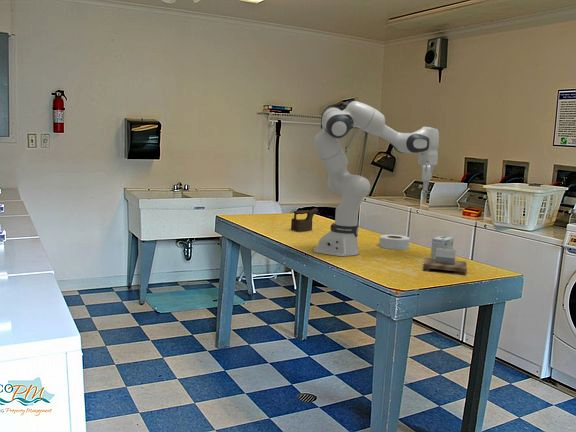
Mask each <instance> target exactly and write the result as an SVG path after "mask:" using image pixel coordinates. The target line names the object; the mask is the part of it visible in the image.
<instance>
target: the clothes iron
mask: <svg viewBox="0 0 576 432" xmlns="http://www.w3.org/2000/svg"><path fill="white" fill-rule="evenodd" d="M318 213H319V212H318V208H317V207H314V208H312V209H310V210H309V209H307V210H294V211H293V218H291V224H290V229H291V231H293V230H294V232H297V233H303V232H311V231H312V230H313V218H314V215H317V214H318ZM305 214H307V215H306V218H303V219H300V218H299V219H298V218H297V215H305Z"/></svg>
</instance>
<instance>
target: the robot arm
mask: <svg viewBox="0 0 576 432" xmlns="http://www.w3.org/2000/svg"><path fill="white" fill-rule="evenodd" d="M354 127H355V128H358V129H360V130H361V131H363V132H366V133H368V134H371V135H375V136H378V137H379V138H380V139H383V140H384V141H386V142H388V143H389V144H390V145H391V146H392V147H393V149H394V150H395V151H396V152H398V153H399V154H418V161H417V162H418V165H420V168H421V169H422V170H421V171H422V172H421V181H422V183H423V185H422V186H423V187H422V190H423V191H427V190H428V189H429V185H430V184H429V183H430V180H431V179H432V176H433V171H434V168H435V166H438V160H439V159H438V158H439V153H438V150H439V144H440V133H439V130H438V128H436V127H434V126H429V125H426V126H425V125H423V126H422V127H421V128H419V129H418V130H416V131H413V132H399V131H396V130H395V129H393V128H392V127H390V126H388V125H387V124H386V117H385V115H384V114H383V113H381V112H380V111H379V110H378V109H376V108H374V107H373V106H370V105H369V104H366V103H363V102H361V101H357V100H353V101H350V102H349V103H348V104H347V105H346V106H345V108H344V109H343V110H342V109H341V108H340V107H337V106H334V105H333V106H328V107H326V108H324V110H323V111H322V113H321V117H320V129H321V131H319V132H318V133H317V134H316V135H314V139H313V143H314V146H315V149H316V152H317V154H318V156H319V158H320V160H321V162H322V163H323V166H324V168H325V170H326V172H327V176H328V179H327V188H328V190H329V191H330V192H332V193H333V194H335V195H337V196H342V199H341V201H340V203H339V204H338V206H337V207H336V208H335V212H334V213H335V214H334V215H335V217H334V218H335V219H334V222H333V223H331V224H330V231H329V232H327V233H326V234H324V235H323V236H322V237H320V238H319V239H318V245H317V246H315V247H313V252H314V253H317V254H322V255H323V254H324V255H331V256H335V257H336V256H337V257H348V256H356V255H360V252H359V247H358V236H359V225H358V223H359V221H358V219H359V210H360V208H361V207H360V206H361V204H362V202H363V200H364V198H365V197H366V196H368V195H369V193H370V191H371V183H370V181H369V179H368V178H366V177H365V176H362V175H359V174H351V173H350V172H349V170H348V168H347V167H348V164H349V160H348V157H347V155H346V154H345V152H344V149H343V148H342V146H341V143H340V142H339V139H342V138H343V137H345V136H347V134H349V132H350V131H351V130H352V129H353V128H354Z"/></svg>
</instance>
